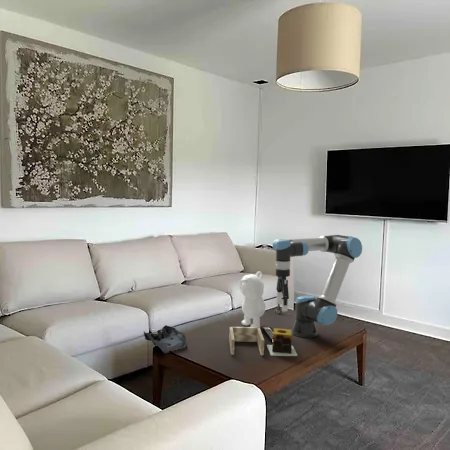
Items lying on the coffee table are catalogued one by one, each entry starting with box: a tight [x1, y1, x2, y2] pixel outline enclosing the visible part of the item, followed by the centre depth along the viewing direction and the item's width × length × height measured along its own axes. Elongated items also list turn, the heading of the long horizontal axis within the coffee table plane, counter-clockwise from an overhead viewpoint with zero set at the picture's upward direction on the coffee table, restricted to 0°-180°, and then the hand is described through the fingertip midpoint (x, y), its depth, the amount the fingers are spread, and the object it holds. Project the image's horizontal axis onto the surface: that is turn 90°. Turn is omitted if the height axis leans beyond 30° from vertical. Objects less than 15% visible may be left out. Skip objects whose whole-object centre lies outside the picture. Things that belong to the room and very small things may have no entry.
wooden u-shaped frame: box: [228, 326, 265, 356], centre depth 230 cm, size 17×21×8 cm
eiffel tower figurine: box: [273, 304, 292, 315], centre depth 298 cm, size 15×10×13 cm
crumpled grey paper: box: [143, 324, 188, 354], centre depth 228 cm, size 18×20×9 cm
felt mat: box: [266, 344, 298, 357], centre depth 228 cm, size 14×14×1 cm
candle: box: [272, 327, 293, 354], centre depth 227 cm, size 10×10×10 cm
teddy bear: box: [239, 270, 266, 328], centre depth 266 cm, size 19×18×35 cm
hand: (282, 307), depth 229 cm, fingers open, 13 cm apart
